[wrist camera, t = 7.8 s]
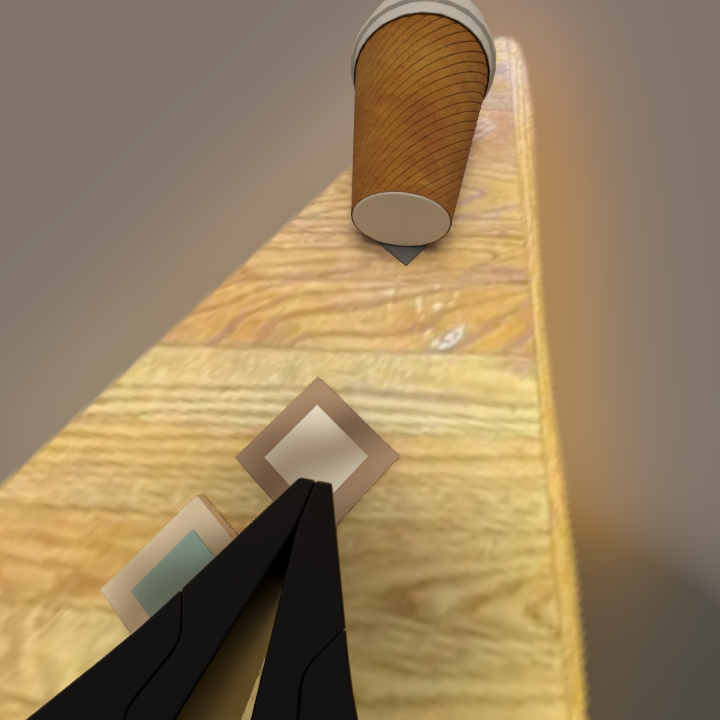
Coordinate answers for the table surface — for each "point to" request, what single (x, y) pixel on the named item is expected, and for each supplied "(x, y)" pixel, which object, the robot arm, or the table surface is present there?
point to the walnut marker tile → (318, 449)
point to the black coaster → (403, 251)
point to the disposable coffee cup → (416, 115)
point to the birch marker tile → (168, 562)
